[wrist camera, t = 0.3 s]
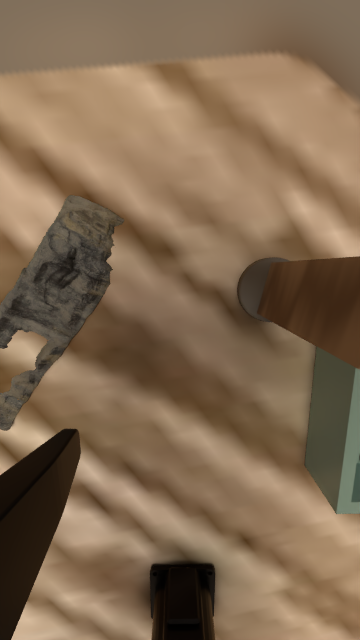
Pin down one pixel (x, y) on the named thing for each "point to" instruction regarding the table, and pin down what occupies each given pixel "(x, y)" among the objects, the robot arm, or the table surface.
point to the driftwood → (57, 291)
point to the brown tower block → (308, 301)
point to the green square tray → (335, 432)
